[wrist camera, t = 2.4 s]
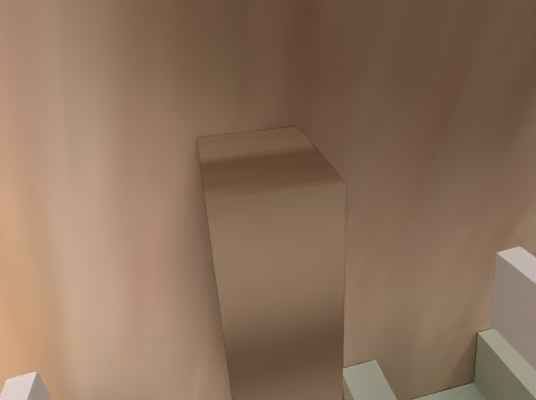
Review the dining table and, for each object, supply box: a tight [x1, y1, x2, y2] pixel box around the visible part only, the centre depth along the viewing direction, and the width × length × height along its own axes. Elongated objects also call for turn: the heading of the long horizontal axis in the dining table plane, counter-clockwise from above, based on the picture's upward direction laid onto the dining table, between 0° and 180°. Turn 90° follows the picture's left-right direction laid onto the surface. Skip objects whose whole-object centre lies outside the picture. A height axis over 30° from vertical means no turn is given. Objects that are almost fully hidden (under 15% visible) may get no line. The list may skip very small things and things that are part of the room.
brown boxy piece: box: [197, 126, 346, 400], centre depth 17 cm, size 12×4×6 cm, turn 4°
